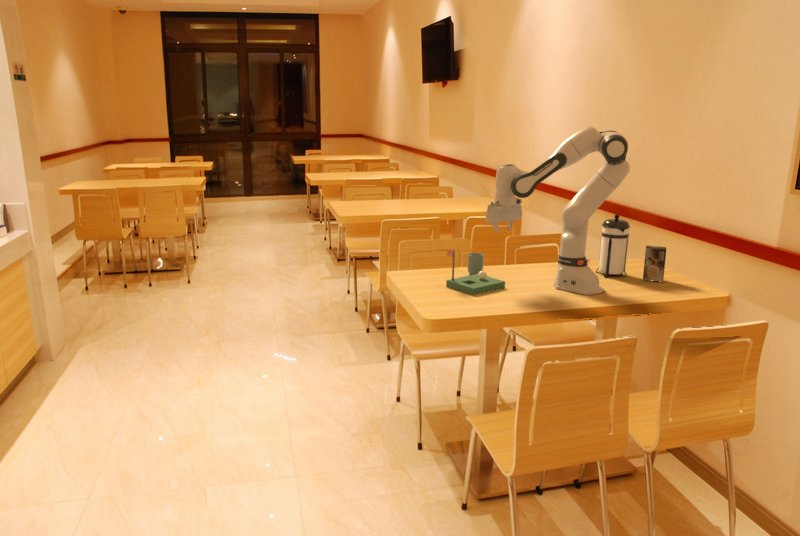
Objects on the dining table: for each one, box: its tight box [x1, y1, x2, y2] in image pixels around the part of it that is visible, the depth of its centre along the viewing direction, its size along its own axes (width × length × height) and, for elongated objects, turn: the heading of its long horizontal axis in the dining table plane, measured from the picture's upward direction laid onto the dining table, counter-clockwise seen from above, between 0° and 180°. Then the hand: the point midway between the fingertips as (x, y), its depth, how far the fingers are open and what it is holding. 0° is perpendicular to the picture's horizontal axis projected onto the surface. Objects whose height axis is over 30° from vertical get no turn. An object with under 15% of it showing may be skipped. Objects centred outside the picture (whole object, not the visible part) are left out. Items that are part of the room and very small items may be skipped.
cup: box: [466, 252, 485, 275], centre depth 299 cm, size 8×8×10 cm
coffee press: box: [595, 214, 631, 279], centre depth 301 cm, size 17×16×30 cm
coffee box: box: [642, 245, 667, 282], centre depth 292 cm, size 9×6×16 cm
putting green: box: [445, 248, 506, 296], centre depth 277 cm, size 19×20×17 cm
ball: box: [478, 270, 487, 280], centre depth 279 cm, size 4×4×4 cm
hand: (502, 230), depth 282 cm, fingers open, 7 cm apart
